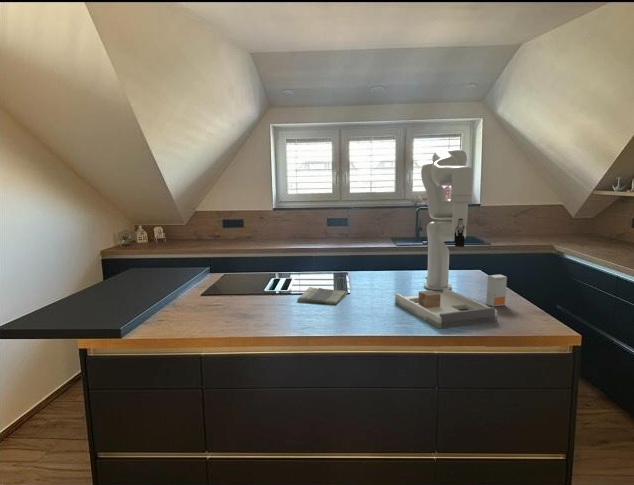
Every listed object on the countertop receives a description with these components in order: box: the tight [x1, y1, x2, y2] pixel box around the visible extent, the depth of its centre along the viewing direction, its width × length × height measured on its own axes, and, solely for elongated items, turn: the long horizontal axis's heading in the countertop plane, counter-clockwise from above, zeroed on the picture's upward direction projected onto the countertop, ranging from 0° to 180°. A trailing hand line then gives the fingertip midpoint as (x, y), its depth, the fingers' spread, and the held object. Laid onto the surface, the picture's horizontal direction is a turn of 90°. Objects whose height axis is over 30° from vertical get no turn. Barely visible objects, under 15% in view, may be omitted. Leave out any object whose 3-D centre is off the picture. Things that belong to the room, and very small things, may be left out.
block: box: [418, 289, 441, 308], centre depth 162 cm, size 6×6×5 cm
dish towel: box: [297, 286, 349, 306], centre depth 181 cm, size 19×18×3 cm
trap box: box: [394, 288, 498, 330], centre depth 161 cm, size 32×24×5 cm
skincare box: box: [485, 274, 508, 307], centre depth 167 cm, size 6×4×12 cm
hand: (459, 244), depth 158 cm, fingers open, 9 cm apart
